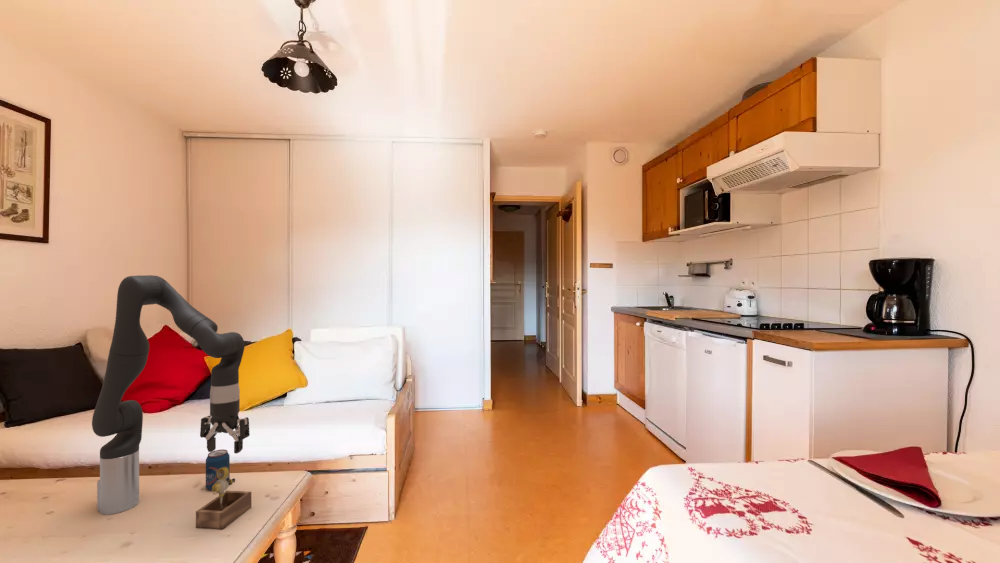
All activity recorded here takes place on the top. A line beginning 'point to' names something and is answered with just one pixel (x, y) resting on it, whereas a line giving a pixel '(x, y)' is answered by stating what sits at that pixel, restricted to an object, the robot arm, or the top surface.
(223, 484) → the regulator
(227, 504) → the open wooden box
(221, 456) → the soda can
